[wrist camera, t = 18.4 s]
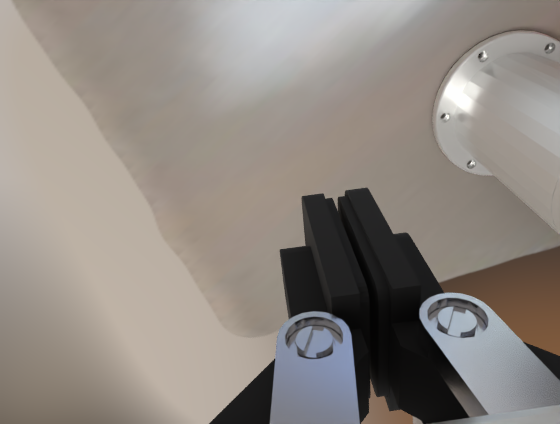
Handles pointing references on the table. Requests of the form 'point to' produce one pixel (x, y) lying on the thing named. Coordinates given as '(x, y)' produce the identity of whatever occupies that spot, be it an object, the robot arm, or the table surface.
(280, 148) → the table surface
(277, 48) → the table surface
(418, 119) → the table surface
